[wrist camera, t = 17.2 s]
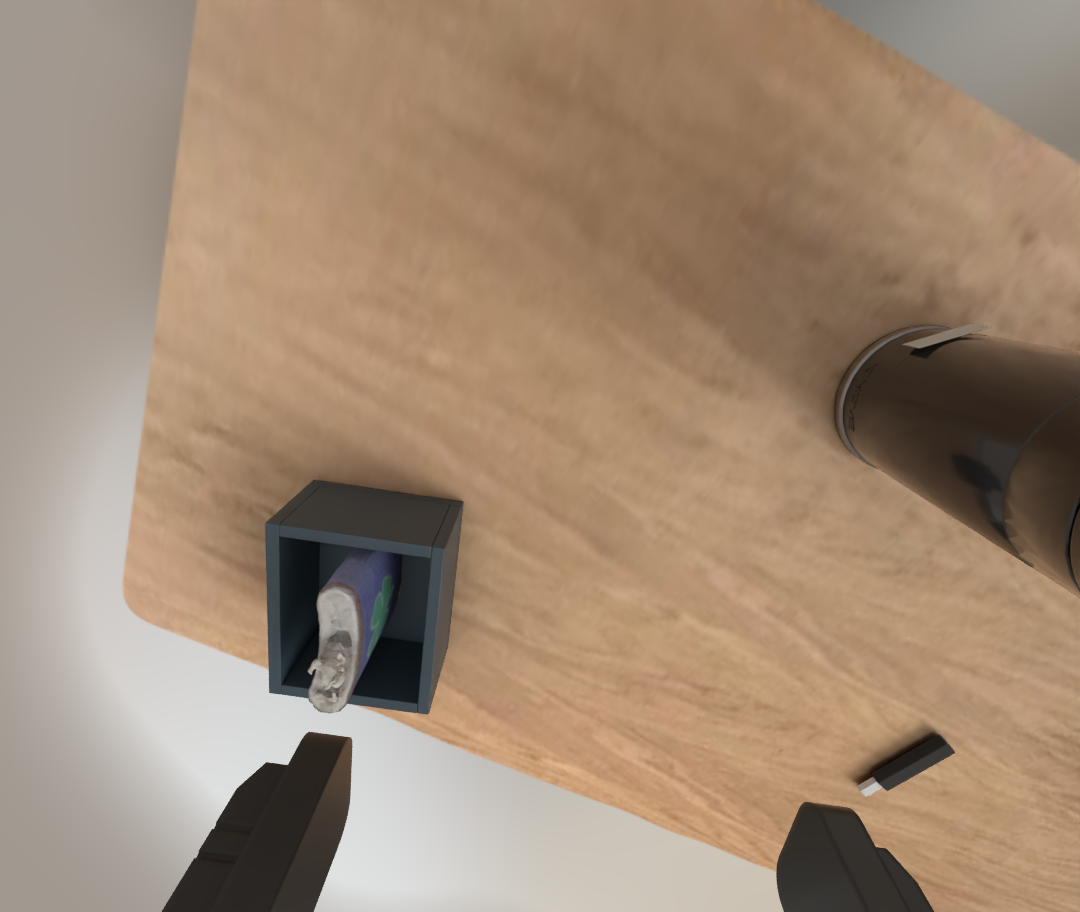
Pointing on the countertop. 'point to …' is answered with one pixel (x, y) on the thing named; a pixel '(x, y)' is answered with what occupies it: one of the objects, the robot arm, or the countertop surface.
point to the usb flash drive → (907, 765)
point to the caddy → (317, 552)
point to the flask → (352, 623)
